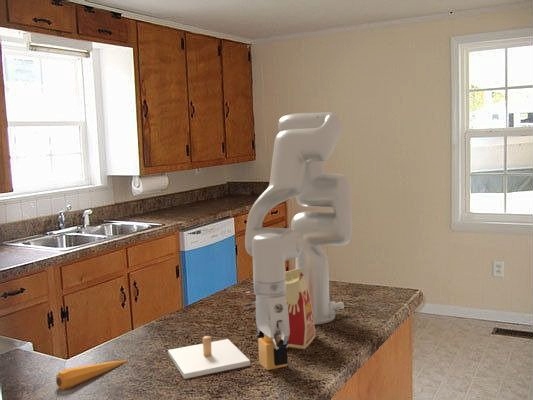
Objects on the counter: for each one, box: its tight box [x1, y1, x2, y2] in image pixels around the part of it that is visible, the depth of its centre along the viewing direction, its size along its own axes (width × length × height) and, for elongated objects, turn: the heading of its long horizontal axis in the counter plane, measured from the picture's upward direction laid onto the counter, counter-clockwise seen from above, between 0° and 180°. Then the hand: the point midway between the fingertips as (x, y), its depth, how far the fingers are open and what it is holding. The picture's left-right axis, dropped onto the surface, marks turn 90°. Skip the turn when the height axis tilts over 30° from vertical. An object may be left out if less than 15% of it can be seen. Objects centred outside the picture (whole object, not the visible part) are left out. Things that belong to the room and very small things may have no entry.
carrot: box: [55, 359, 130, 391], centre depth 133 cm, size 20×4×4 cm, turn 143°
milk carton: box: [279, 267, 316, 350], centre depth 147 cm, size 9×9×20 cm
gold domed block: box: [257, 333, 288, 371], centre depth 134 cm, size 5×5×8 cm
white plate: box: [167, 335, 251, 380], centre depth 138 cm, size 16×16×6 cm
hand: (272, 356), depth 134 cm, fingers open, 9 cm apart
